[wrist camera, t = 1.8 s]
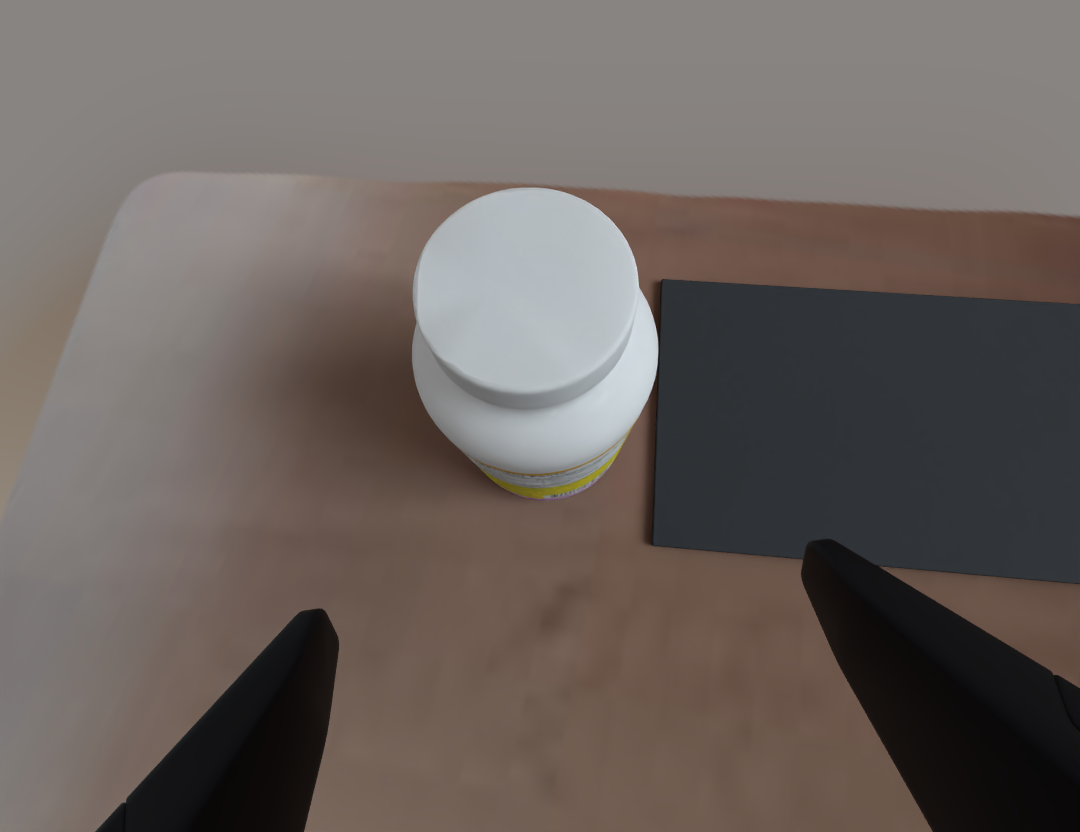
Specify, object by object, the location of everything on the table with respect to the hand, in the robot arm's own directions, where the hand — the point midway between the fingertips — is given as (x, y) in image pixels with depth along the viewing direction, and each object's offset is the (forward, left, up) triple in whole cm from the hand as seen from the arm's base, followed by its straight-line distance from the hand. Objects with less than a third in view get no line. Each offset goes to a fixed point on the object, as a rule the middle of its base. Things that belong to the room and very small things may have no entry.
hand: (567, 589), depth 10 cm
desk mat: (-5, -14, -12) cm, 20 cm away
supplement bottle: (+5, -3, -12) cm, 14 cm away
